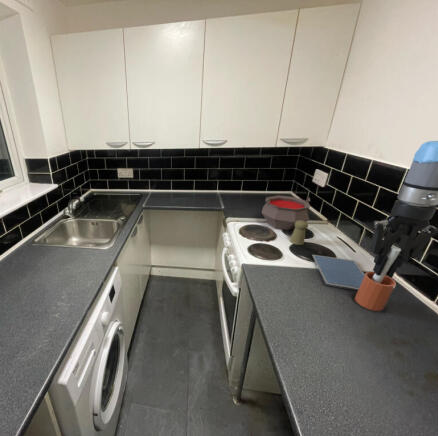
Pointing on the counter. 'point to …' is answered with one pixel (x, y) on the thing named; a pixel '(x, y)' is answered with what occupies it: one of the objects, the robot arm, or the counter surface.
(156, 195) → the counter surface
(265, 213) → the cauldron
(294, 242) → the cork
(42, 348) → the counter surface
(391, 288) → the pen pot
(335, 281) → the tablet
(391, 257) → the stylus
